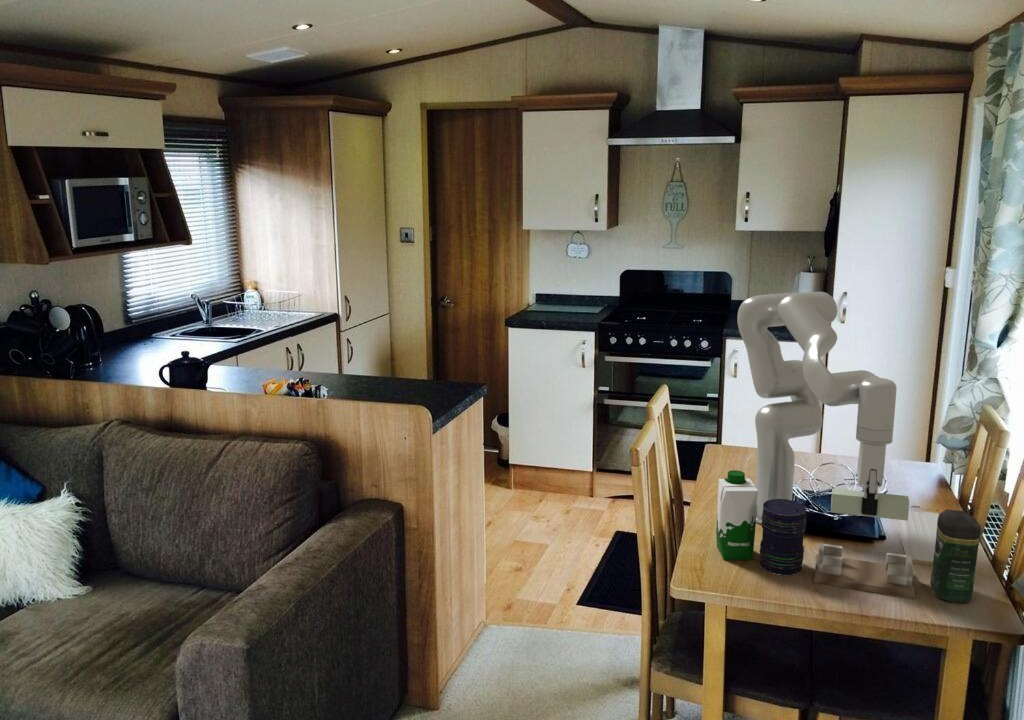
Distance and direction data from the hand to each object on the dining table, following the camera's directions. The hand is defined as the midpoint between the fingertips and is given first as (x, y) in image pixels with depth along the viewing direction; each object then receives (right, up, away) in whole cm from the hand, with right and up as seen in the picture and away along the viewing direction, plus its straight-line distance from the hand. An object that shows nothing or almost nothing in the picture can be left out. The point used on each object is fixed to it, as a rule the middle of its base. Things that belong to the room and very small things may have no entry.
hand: (868, 510), depth 194 cm
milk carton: (-27, -13, +15) cm, 33 cm away
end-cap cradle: (-1, -16, +2) cm, 16 cm away
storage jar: (-17, -15, +8) cm, 24 cm away
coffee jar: (+16, -18, -5) cm, 24 cm away
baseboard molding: (+22, -12, +22) cm, 34 cm away
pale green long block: (0, -1, 0) cm, 1 cm away
